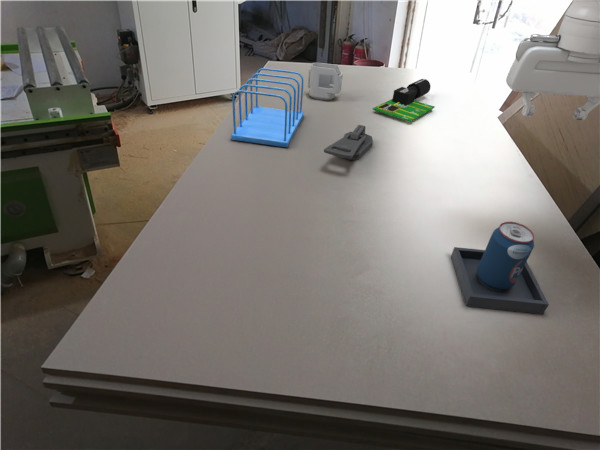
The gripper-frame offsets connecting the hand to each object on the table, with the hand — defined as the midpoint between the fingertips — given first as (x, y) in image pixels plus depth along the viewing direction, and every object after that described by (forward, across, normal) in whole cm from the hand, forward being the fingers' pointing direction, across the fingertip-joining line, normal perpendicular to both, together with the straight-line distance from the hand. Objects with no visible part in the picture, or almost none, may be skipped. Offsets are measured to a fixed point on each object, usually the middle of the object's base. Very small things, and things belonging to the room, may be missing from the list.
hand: (552, 116), depth 76 cm
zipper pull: (+27, -35, +30) cm, 53 cm away
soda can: (+26, -7, -18) cm, 33 cm away
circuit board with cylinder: (+27, -12, +73) cm, 79 cm away
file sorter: (+26, -61, +44) cm, 80 cm away
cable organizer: (+26, -44, +76) cm, 92 cm away
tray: (+27, -7, -18) cm, 33 cm away
